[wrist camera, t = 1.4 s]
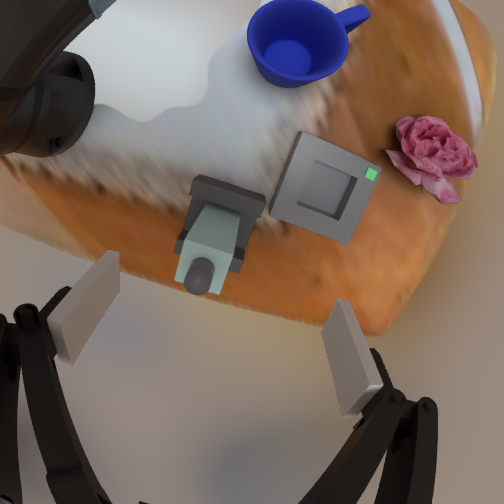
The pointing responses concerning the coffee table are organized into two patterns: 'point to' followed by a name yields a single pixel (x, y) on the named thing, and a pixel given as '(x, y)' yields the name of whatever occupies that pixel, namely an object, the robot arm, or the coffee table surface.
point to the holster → (227, 197)
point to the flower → (432, 156)
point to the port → (323, 188)
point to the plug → (208, 249)
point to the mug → (300, 40)
